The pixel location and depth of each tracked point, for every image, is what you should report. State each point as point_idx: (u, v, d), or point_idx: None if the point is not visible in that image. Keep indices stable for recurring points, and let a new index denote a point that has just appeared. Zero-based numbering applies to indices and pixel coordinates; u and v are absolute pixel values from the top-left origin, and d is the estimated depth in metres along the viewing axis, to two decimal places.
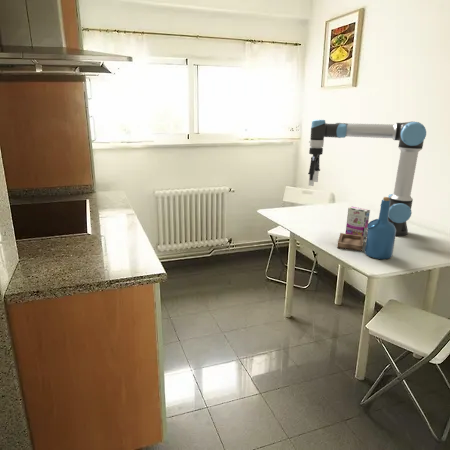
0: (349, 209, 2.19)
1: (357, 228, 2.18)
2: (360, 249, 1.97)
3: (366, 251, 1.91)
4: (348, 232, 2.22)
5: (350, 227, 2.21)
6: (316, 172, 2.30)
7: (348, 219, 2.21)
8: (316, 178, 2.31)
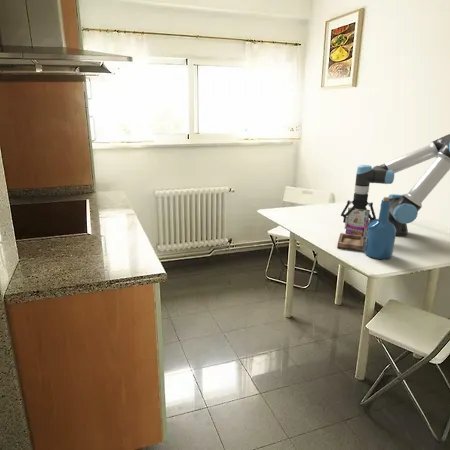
0: (349, 209, 2.19)
1: (357, 228, 2.18)
2: (360, 249, 1.97)
3: (366, 251, 1.91)
4: (348, 232, 2.22)
5: (350, 227, 2.21)
6: None
7: (348, 219, 2.21)
8: None
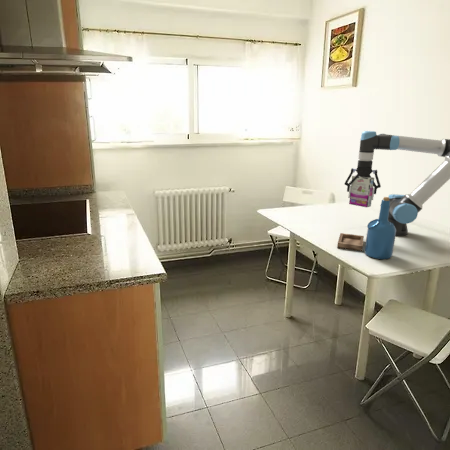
0: (353, 177, 2.14)
1: (361, 196, 2.12)
2: (360, 249, 1.97)
3: (366, 251, 1.91)
4: (352, 201, 2.17)
5: (354, 196, 2.15)
6: None
7: (352, 188, 2.15)
8: (372, 196, 2.13)
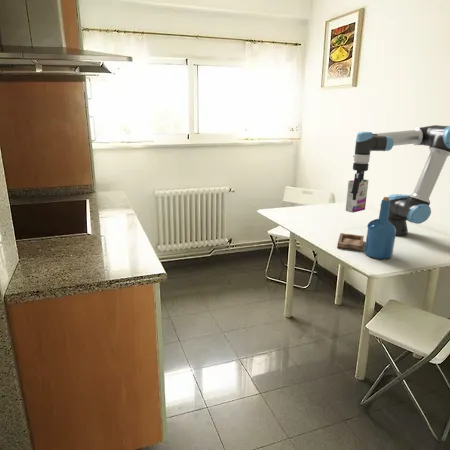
0: None
1: (362, 200, 2.02)
2: (360, 249, 1.97)
3: (366, 251, 1.91)
4: (355, 209, 2.00)
5: None
6: None
7: None
8: None
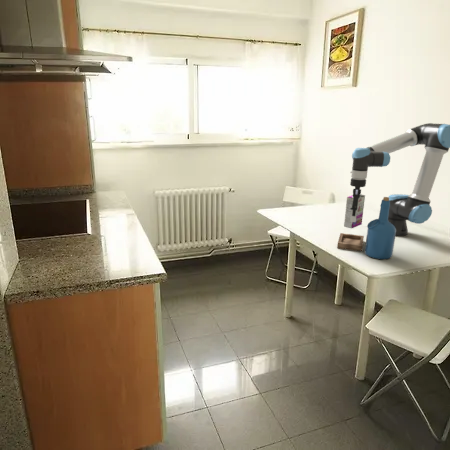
0: None
1: (359, 215, 2.02)
2: (360, 249, 1.97)
3: (366, 251, 1.91)
4: (354, 224, 2.00)
5: None
6: None
7: None
8: None
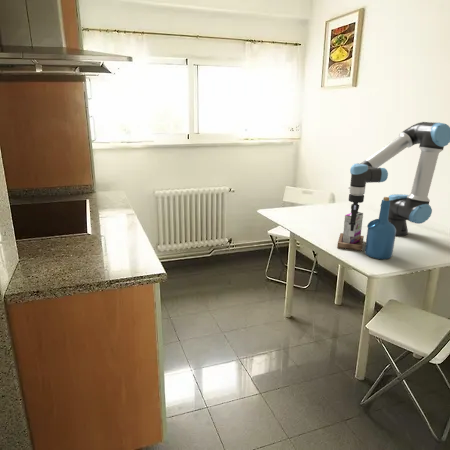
0: None
1: (357, 233, 2.05)
2: (360, 249, 1.97)
3: (366, 251, 1.91)
4: (352, 242, 2.02)
5: None
6: None
7: None
8: None
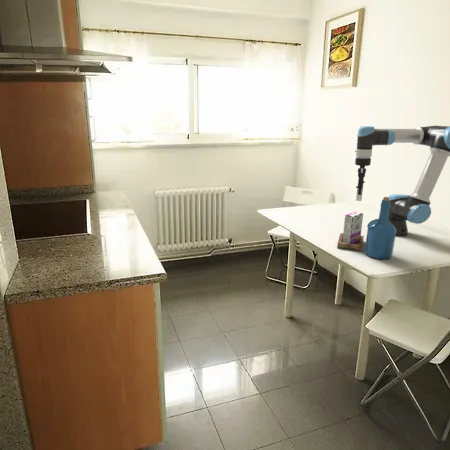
0: (353, 218, 1.98)
1: (357, 233, 2.05)
2: (360, 249, 1.97)
3: (366, 251, 1.91)
4: (352, 242, 2.02)
5: (353, 236, 2.02)
6: None
7: (352, 229, 2.00)
8: None
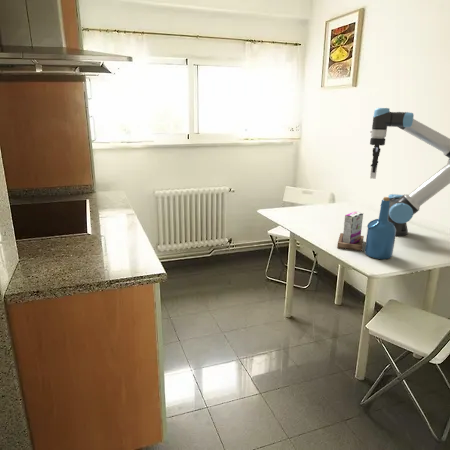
0: (353, 218, 1.98)
1: (357, 233, 2.05)
2: (360, 249, 1.97)
3: (366, 251, 1.91)
4: (352, 242, 2.02)
5: (353, 236, 2.02)
6: None
7: (352, 229, 2.00)
8: None
